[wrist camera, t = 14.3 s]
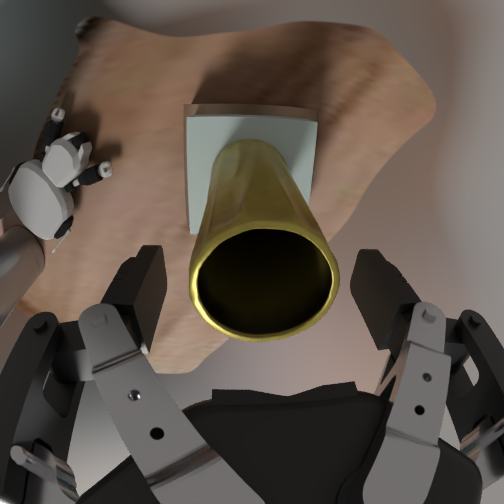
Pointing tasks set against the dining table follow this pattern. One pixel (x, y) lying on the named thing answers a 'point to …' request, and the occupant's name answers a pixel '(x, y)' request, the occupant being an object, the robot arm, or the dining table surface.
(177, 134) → the dining table surface
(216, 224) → the vase
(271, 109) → the bottom brick
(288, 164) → the top brick
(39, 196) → the robot toy
